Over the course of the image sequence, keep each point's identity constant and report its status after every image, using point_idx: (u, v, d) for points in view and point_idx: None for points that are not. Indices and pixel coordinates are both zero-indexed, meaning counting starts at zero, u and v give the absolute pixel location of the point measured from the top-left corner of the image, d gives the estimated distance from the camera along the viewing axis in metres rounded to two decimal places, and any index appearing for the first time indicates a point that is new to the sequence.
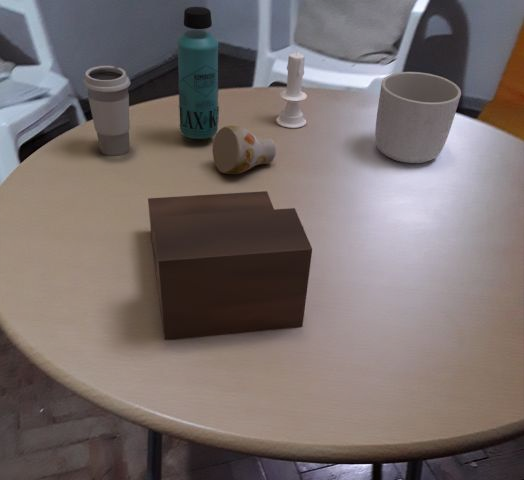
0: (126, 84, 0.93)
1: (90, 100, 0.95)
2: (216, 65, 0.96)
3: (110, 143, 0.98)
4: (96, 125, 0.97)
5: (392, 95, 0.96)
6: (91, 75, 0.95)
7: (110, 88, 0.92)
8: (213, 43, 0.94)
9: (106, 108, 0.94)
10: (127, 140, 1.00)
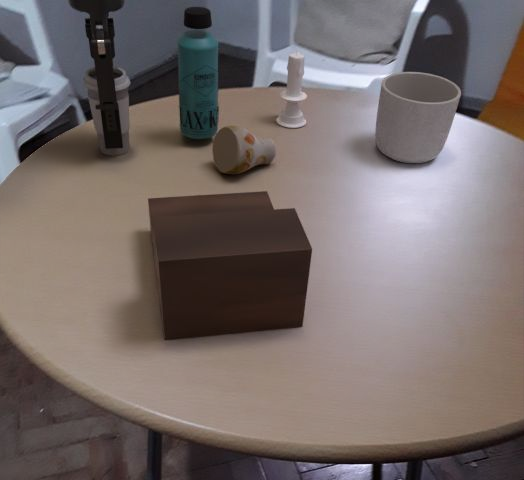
0: (126, 84, 0.93)
1: (90, 100, 0.95)
2: (216, 65, 0.96)
3: None
4: (96, 125, 0.97)
5: (392, 95, 0.96)
6: (91, 75, 0.95)
7: None
8: (213, 43, 0.94)
9: None
10: (127, 140, 1.00)
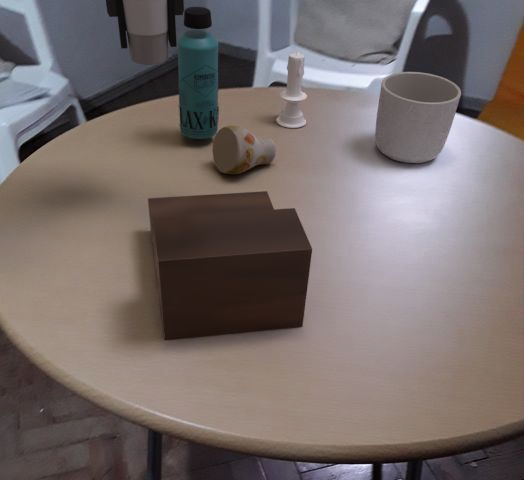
0: None
1: None
2: (216, 65, 0.96)
3: (167, 40, 0.78)
4: (159, 24, 0.74)
5: (392, 95, 0.96)
6: None
7: None
8: (213, 43, 0.94)
9: None
10: None
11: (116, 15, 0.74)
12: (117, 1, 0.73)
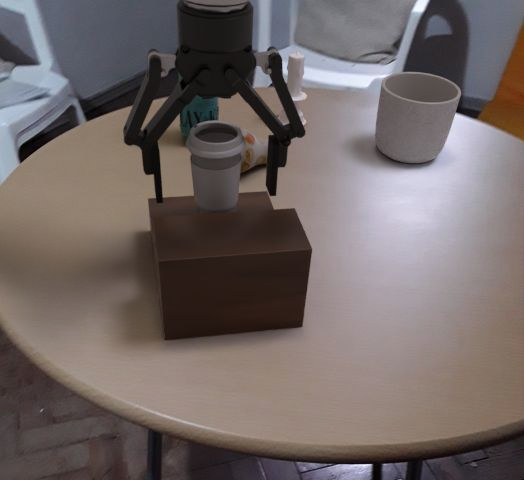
0: None
1: (229, 172, 0.71)
2: None
3: (235, 209, 0.77)
4: (230, 199, 0.74)
5: (392, 95, 0.96)
6: None
7: (243, 136, 0.72)
8: None
9: (239, 165, 0.73)
10: None
11: (152, 173, 0.72)
12: (154, 162, 0.70)
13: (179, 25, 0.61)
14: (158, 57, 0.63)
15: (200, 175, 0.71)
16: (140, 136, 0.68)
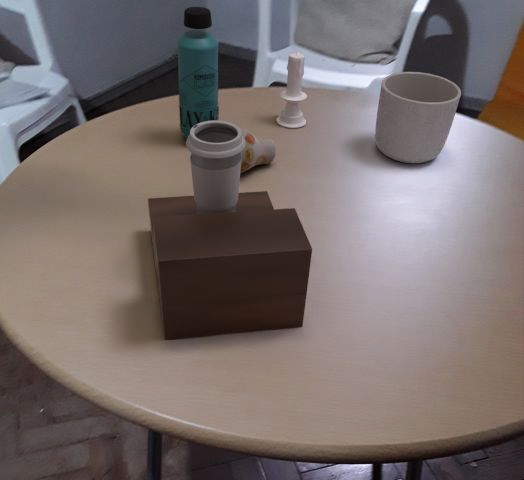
0: None
1: (229, 172, 0.71)
2: (216, 65, 0.96)
3: (235, 209, 0.77)
4: (230, 199, 0.74)
5: (392, 95, 0.96)
6: None
7: (243, 136, 0.72)
8: (213, 43, 0.94)
9: (239, 165, 0.73)
10: None
11: None
12: None
13: None
14: None
15: (200, 175, 0.71)
16: None
